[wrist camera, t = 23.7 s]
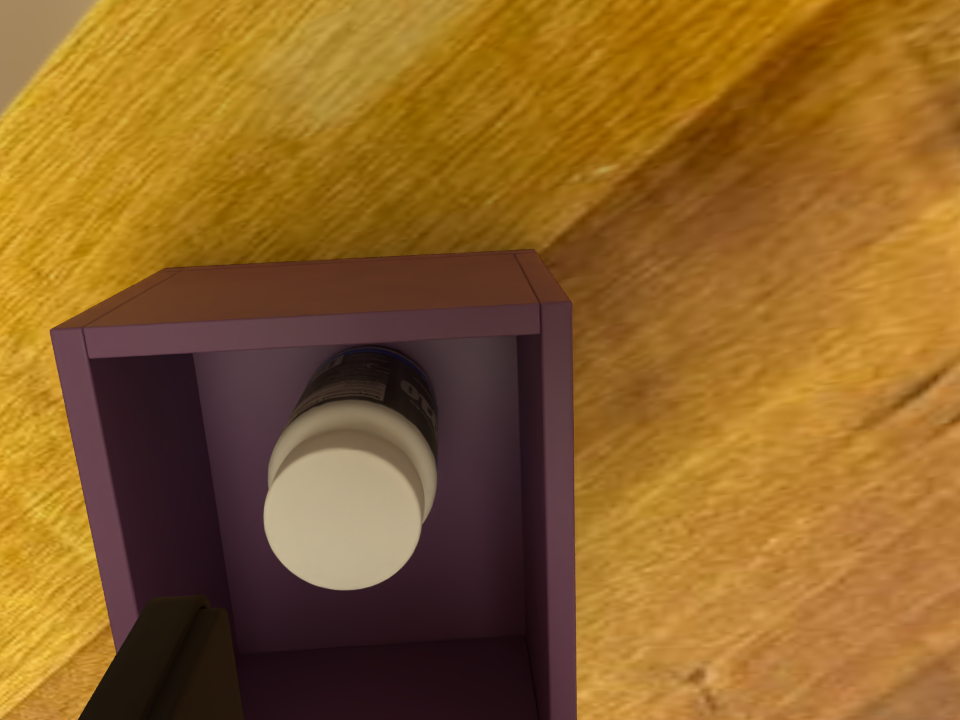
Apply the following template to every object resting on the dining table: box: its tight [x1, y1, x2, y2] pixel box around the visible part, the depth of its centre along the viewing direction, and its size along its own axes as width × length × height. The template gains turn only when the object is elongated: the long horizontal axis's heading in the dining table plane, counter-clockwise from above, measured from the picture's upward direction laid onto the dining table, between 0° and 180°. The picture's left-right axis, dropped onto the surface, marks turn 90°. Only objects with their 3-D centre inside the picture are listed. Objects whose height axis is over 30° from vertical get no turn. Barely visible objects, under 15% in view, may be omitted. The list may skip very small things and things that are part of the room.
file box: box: [50, 249, 577, 720], centre depth 25 cm, size 16×13×8 cm
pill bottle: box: [263, 347, 438, 590], centre depth 24 cm, size 5×5×8 cm
